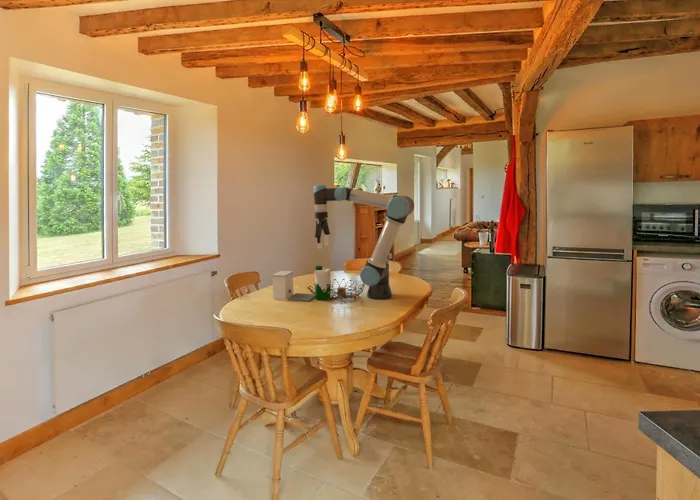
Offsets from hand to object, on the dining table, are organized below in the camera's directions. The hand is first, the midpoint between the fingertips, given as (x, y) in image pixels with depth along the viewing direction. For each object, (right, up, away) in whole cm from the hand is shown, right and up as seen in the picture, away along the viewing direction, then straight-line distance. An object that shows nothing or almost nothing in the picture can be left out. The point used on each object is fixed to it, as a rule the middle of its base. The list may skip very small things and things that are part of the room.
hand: (323, 246), depth 263 cm
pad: (-13, -31, +5) cm, 34 cm away
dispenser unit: (-25, -31, +8) cm, 41 cm away
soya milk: (0, -32, +2) cm, 32 cm away
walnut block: (+11, -30, +8) cm, 33 cm away
